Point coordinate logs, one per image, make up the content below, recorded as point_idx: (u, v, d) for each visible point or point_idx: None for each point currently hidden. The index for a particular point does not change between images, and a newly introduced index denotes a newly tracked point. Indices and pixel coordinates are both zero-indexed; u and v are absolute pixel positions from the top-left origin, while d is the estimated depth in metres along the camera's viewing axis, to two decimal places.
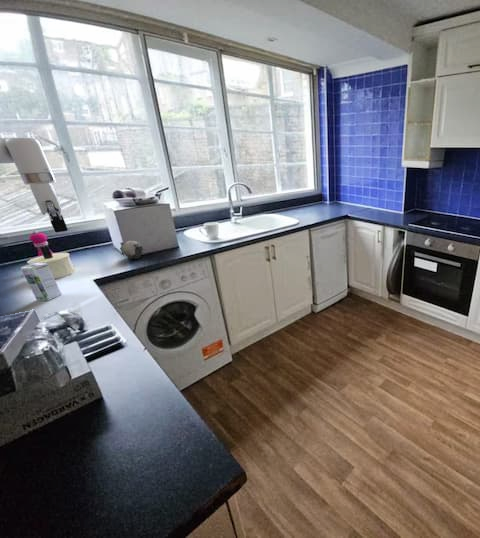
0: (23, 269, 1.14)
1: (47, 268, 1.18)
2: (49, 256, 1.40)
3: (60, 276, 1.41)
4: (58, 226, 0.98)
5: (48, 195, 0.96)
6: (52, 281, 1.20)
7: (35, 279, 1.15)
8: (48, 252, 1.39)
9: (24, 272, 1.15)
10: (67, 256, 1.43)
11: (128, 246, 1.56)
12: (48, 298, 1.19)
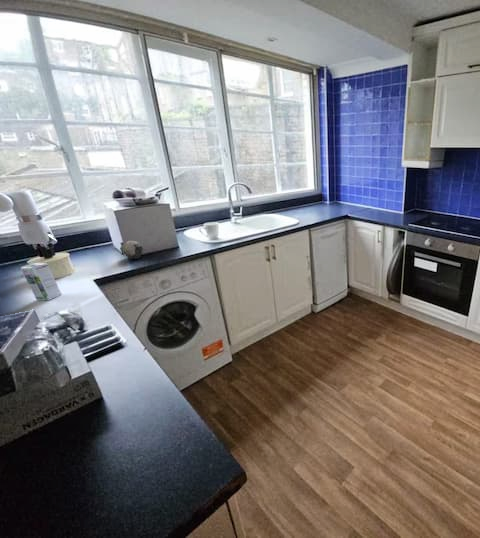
0: (23, 269, 1.14)
1: (47, 268, 1.18)
2: None
3: (60, 276, 1.41)
4: (52, 252, 1.40)
5: (47, 228, 1.36)
6: (52, 281, 1.20)
7: (35, 279, 1.15)
8: None
9: (24, 272, 1.15)
10: (67, 256, 1.43)
11: (128, 246, 1.56)
12: (48, 298, 1.19)
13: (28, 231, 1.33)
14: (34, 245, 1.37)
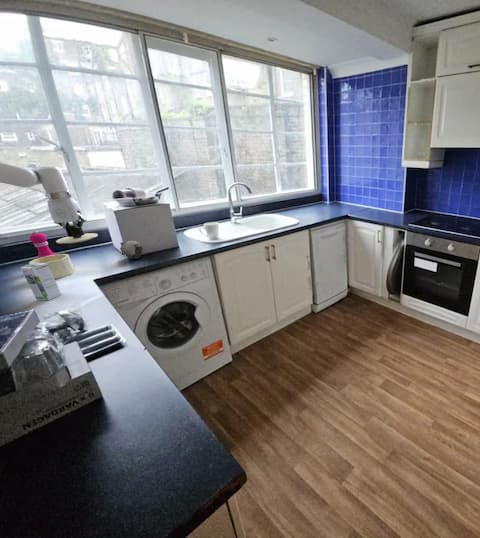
0: (23, 269, 1.14)
1: (47, 268, 1.18)
2: None
3: (60, 276, 1.41)
4: (81, 231, 1.35)
5: (77, 206, 1.32)
6: (52, 281, 1.20)
7: (35, 279, 1.15)
8: None
9: (24, 272, 1.15)
10: (96, 236, 1.39)
11: (128, 246, 1.56)
12: (48, 298, 1.19)
13: (58, 209, 1.28)
14: (63, 224, 1.32)
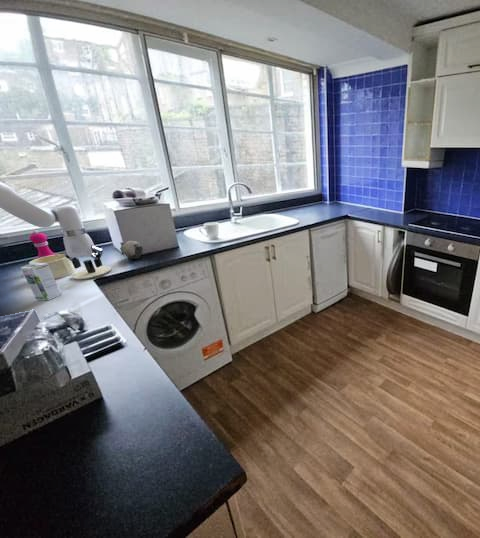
0: (23, 269, 1.14)
1: (47, 268, 1.18)
2: (92, 270, 1.42)
3: (60, 276, 1.41)
4: (99, 262, 1.42)
5: (91, 242, 1.38)
6: (52, 281, 1.20)
7: (35, 279, 1.15)
8: (92, 266, 1.42)
9: (24, 272, 1.15)
10: (109, 270, 1.45)
11: (128, 246, 1.56)
12: (48, 298, 1.19)
13: (73, 245, 1.35)
14: None
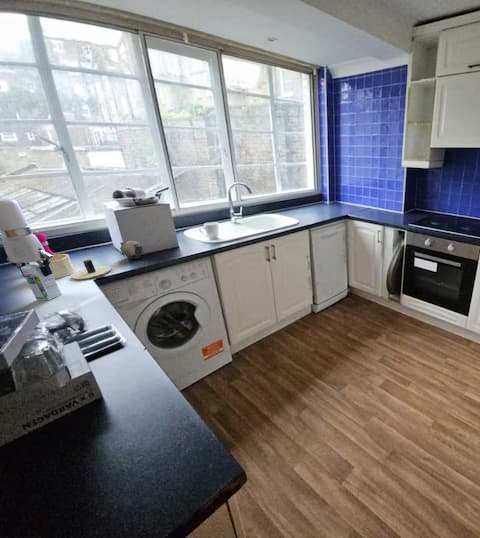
0: (23, 269, 1.14)
1: None
2: (92, 270, 1.42)
3: (60, 276, 1.41)
4: (48, 270, 1.17)
5: (38, 244, 1.14)
6: (52, 281, 1.20)
7: (35, 279, 1.15)
8: (92, 266, 1.42)
9: (24, 272, 1.15)
10: (109, 270, 1.45)
11: (128, 246, 1.56)
12: (48, 298, 1.19)
13: (15, 248, 1.10)
14: (18, 263, 1.14)
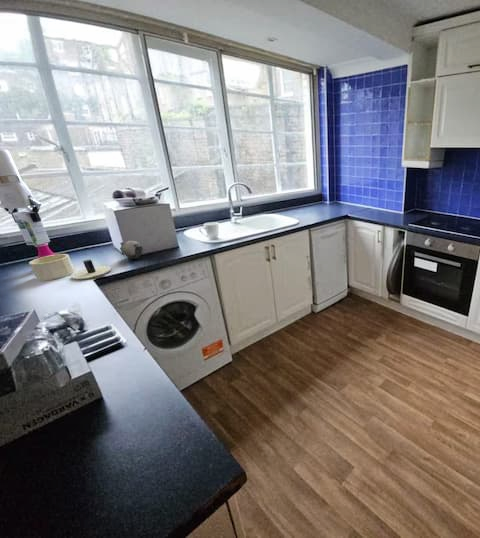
0: (14, 214, 1.26)
1: None
2: (92, 270, 1.42)
3: (60, 276, 1.41)
4: (37, 217, 1.29)
5: (28, 192, 1.26)
6: (41, 228, 1.32)
7: (25, 224, 1.27)
8: (92, 266, 1.42)
9: (15, 217, 1.27)
10: (109, 270, 1.45)
11: (128, 246, 1.56)
12: (37, 243, 1.31)
13: (6, 194, 1.22)
14: (10, 209, 1.26)
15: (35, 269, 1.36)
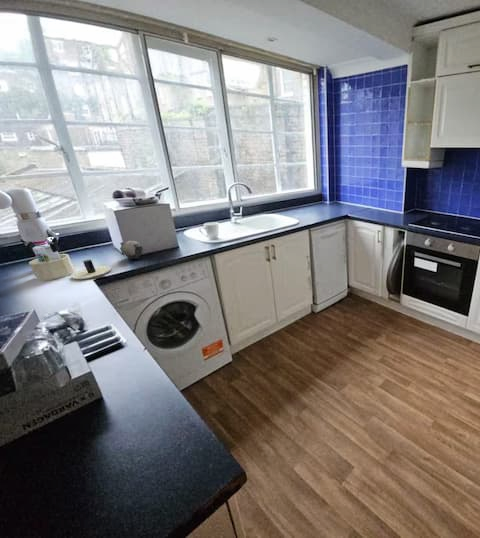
0: (34, 249, 1.37)
1: None
2: (92, 270, 1.42)
3: (60, 276, 1.41)
4: (56, 247, 1.39)
5: (46, 226, 1.36)
6: None
7: (44, 257, 1.37)
8: (92, 266, 1.42)
9: (35, 251, 1.37)
10: (109, 270, 1.45)
11: (128, 246, 1.56)
12: None
13: (27, 229, 1.32)
14: None
15: (35, 269, 1.36)
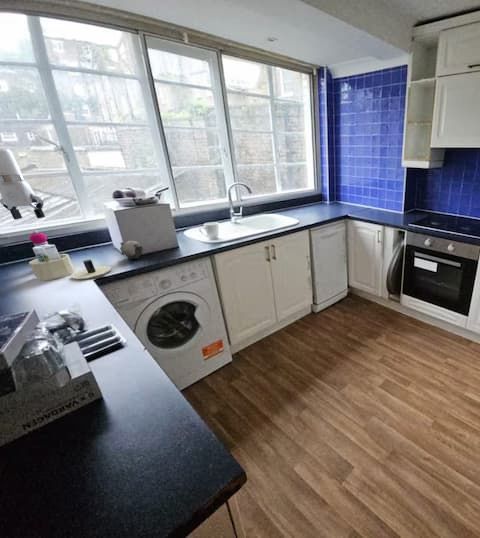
0: (34, 249, 1.37)
1: (54, 249, 1.41)
2: (92, 270, 1.42)
3: (60, 276, 1.41)
4: (41, 213, 1.33)
5: (30, 190, 1.29)
6: None
7: (44, 257, 1.37)
8: (92, 266, 1.42)
9: (35, 251, 1.37)
10: (109, 270, 1.45)
11: (128, 246, 1.56)
12: None
13: (9, 192, 1.26)
14: (10, 206, 1.29)
15: (35, 269, 1.36)
